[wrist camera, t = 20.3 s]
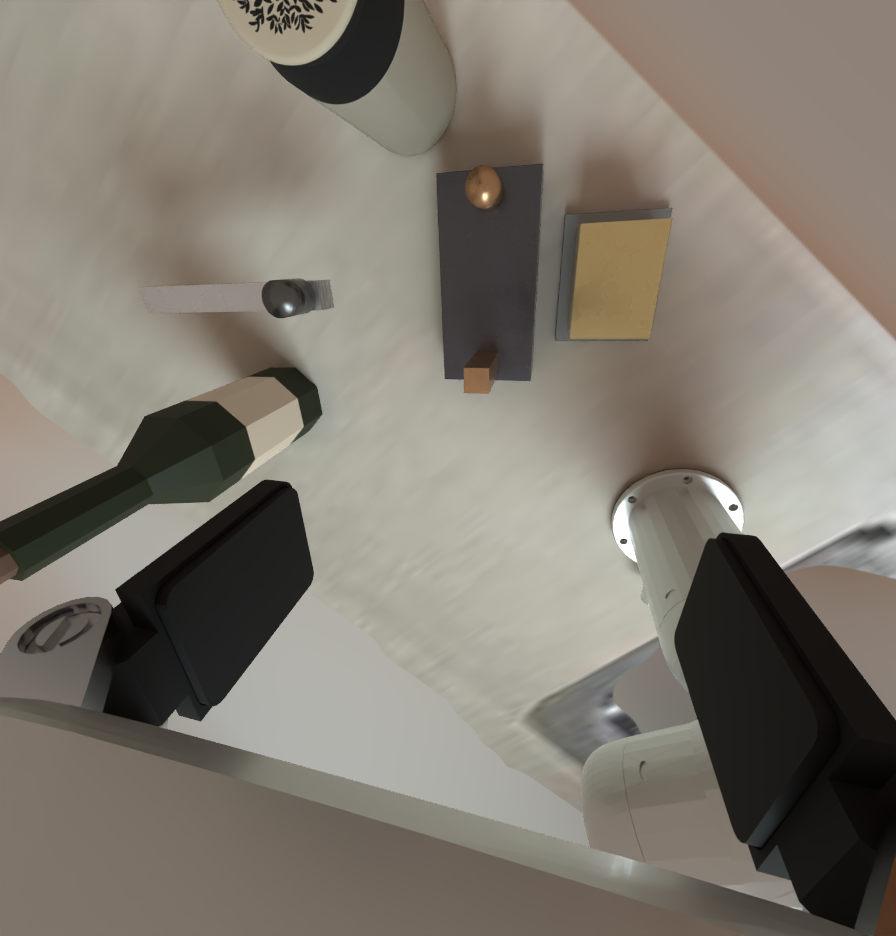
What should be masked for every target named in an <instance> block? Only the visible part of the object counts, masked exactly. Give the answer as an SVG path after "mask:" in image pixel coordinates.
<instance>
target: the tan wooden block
mask: <svg viewBox="0 0 896 936" xmlns="http://www.w3.org/2000/svg"><path fill="white" fill-rule="evenodd" d="M671 221H672V218H667V219H650V220H633V221H617V222H600V223H583V224H580V225H579V226H578V228H577V232H576V242H575V253H574V264H573V274H572V285H571V296H570V306H569V317H568V328H567V330H568V334H569V338H570V339H650V335H651V330H652V324H653V319H654V313H655V308H656V303H657V297H658V292H659V286H660V281H661V275H662V270H663V265H664V259H665V254H666V248H667V243H668V238H669V232H670V227H671Z"/></svg>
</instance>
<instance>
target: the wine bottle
mask: <svg viewBox="0 0 896 936" xmlns="http://www.w3.org/2000/svg"><path fill="white" fill-rule="evenodd" d="M321 415H322V409H321V404H320V399H319V394H318V389H317V387H316V386H315V385H314V384H313V383H312V382H310V381H309V380H308V379H307V378H306V377H305V376H304V375H303V374H302V373H301V372H300V371H298V370H297V369H296V368H269V369H266V370H264V371H261V372H259V373H256V374H253V375H251V376H248V377H246V378H243V379H240V380H238V381H235V382H233V383H230V384H227V385H225V386H222V387H220V388H217V389H214V390H212V391H209V392H207V393H204V394H201V395H199V396H196V397H194V398H191V399H189V400H186V401H183V402H181V403H178V404H176V405H173V406H170V407H168V408H165V409H163V410H160V411H157V412H155V413H152V414H150V415H147V416H145V417H144V419H143V420H142V422H141V424H140V426H139V428H138V429H137V431H136V433H135V435H134V437H133V438H132V440H131V442H130V444H129V445H128V447H127V449H126V451H125V453H124V454H123V456H122V458H121V460H120V462H119V463H118V465H117V466H116V467H114V468H112V469H110V470H108V471H106V472H103V473H101V474H99V475H97V476H95V477H93V478H91V479H89V480H86V481H85V482H82V483H80V484H78V485H76V486H74V487H72V488H70V489H68V490H66V491H63V492H61V493H59V494H57V495H55V496H53V497H51V498H49V499H47V500H44V501H42V502H40V503H38V504H36V505H34V506H32V507H30V508H28V509H26V510H23V511H21V512H19V513H17V514H15V515H13V516H11V517H9V518H7V519H5V520H2V521H0V584H1V583H3V582H5V581H6V580H8V579H14V580H20V581H23V580H24V579H26V578H28V577H29V576H31V575H32V574H34V573H36V572H37V571H39V570H41V569H42V568H44V567H46V566H47V565H49V564H51V563H52V562H54V561H55V560H57V559H59V558H61V557H62V556H64V555H65V554H67V553H69V552H70V551H72V550H74V549H75V548H77V547H79V546H80V545H82V544H84V543H85V542H87V541H89V540H90V539H92V538H93V537H95V536H97V535H98V534H100V533H102V532H103V531H105V530H107V529H108V528H110V527H111V526H113V525H115V524H116V523H118V522H120V521H121V520H123V519H125V518H126V517H128V516H130V515H131V514H133V513H135V512H136V511H138V510H140V509H141V508H143V507H144V506H146V505H148V504H168V503H196V502H210V501H211V500H213V499H214V498H215V497H217V496H218V495H220V494H221V493H222V492H224V491H225V490H227V489H228V488H229V487H231V486H232V485H234V484H235V483H236V482H238V481H239V480H241V479H242V478H244V477H245V476H246V475H248V474H249V473H251V472H252V471H253V470H255V469H256V468H258V467H259V466H260V465H262V464H263V463H265V462H266V461H267V460H269V459H270V458H272V457H273V456H275V455H276V454H277V453H279V452H280V451H282V450H283V449H284V448H286V447H287V446H289V445H290V444H291V443H293V442H294V441H296V440H297V439H298V438H300V437H301V436H303V435H304V434H306V433H307V432H308V431H309V430H310V429H311V428H312V427H313V425H314V424H315V423H316V422H317V420H318V419H319V418H320V416H321Z"/></svg>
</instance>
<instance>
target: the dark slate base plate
mask: <svg viewBox="0 0 896 936" xmlns="http://www.w3.org/2000/svg"><path fill="white" fill-rule="evenodd" d="M436 174H437V199H438V223H439V247H440V272H441V296H442V321H443V345H444V369H445V379H464V393H486V394H489V392H490V390H491V388H492V386H493V384H494V381H495V380H515V381H530V380H531V374H532V363H533V345H534V328H535V311H536V294H537V277H538V260H539V242H540V225H541V208H542V191H543V164H534V165H523V166H512V167H501V168H491V167H489V166H485V165H482V166H478V167H476V168H474V169H473V170H469V171H458V172H447V173H436Z"/></svg>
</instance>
